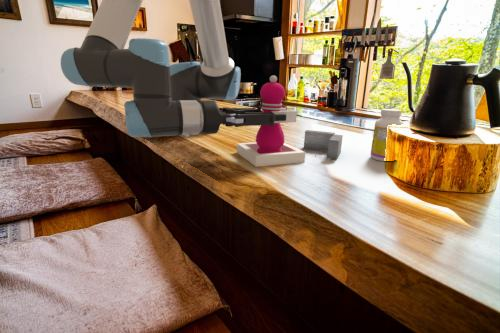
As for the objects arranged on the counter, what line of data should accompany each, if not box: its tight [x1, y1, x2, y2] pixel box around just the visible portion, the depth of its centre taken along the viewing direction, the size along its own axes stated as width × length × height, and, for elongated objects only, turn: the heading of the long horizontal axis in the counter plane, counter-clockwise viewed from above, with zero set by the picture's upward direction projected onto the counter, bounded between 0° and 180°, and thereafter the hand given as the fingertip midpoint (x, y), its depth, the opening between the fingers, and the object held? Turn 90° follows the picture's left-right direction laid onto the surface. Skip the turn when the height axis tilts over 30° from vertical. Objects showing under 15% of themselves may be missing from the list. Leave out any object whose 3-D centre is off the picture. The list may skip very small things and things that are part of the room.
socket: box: [236, 141, 306, 168], centre depth 77 cm, size 13×13×2 cm
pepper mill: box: [255, 75, 286, 154], centre depth 75 cm, size 7×7×20 cm
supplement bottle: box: [370, 108, 404, 162], centre depth 78 cm, size 7×7×13 cm
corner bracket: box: [303, 129, 343, 161], centre depth 83 cm, size 15×7×5 cm, turn 22°
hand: (290, 114), depth 76 cm, fingers closed on pepper mill, 5 cm apart
